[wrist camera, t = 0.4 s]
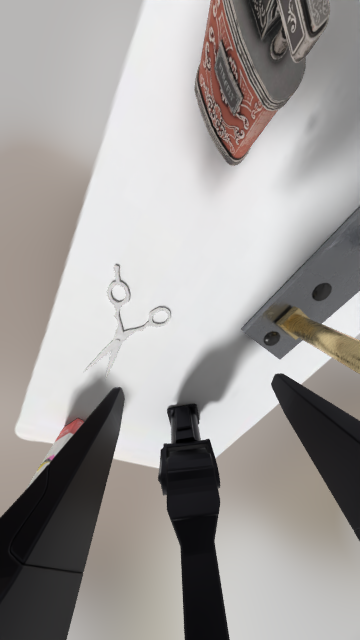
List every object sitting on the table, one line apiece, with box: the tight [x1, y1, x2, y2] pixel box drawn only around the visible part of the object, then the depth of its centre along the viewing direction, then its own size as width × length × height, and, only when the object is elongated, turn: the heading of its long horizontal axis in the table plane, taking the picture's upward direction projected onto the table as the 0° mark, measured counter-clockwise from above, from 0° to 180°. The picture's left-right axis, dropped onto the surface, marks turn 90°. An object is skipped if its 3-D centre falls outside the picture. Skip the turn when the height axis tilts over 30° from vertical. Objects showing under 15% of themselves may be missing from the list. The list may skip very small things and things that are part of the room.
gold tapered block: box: [276, 306, 360, 374], centre depth 18 cm, size 4×4×12 cm
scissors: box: [84, 265, 171, 380], centre depth 24 cm, size 11×1×20 cm
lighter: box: [195, 0, 330, 166], centre depth 11 cm, size 8×3×10 cm, turn 38°
